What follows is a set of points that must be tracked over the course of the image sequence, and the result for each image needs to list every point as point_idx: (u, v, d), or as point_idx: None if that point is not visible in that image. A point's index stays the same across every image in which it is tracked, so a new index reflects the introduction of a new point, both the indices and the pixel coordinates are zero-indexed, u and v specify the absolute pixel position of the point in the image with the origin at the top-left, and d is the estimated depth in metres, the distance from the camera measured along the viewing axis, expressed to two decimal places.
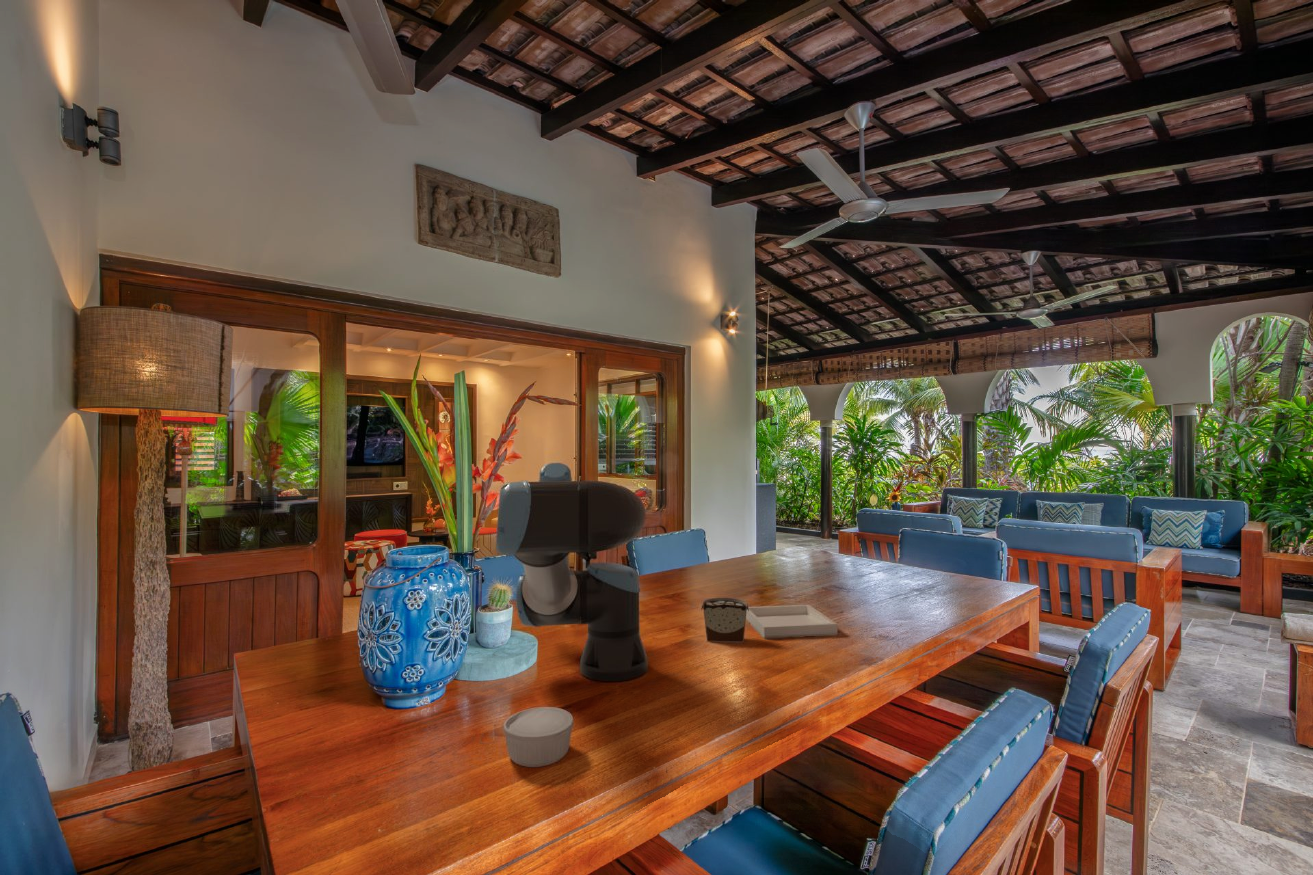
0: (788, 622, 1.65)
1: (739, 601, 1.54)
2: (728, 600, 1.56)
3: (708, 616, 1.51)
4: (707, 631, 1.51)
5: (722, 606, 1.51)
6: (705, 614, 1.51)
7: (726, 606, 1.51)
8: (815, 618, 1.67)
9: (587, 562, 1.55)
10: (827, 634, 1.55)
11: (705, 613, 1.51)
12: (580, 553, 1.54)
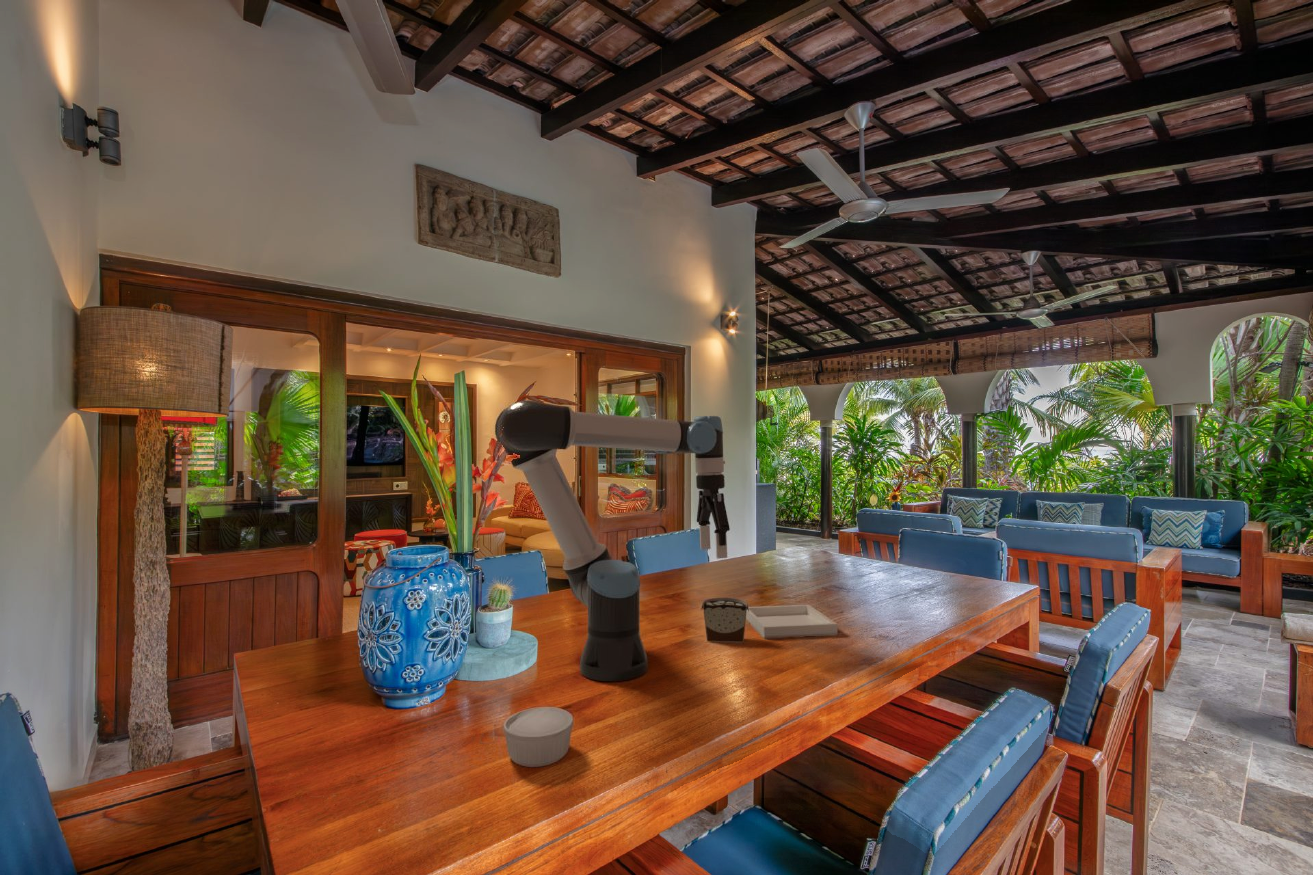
0: (788, 622, 1.65)
1: (739, 601, 1.54)
2: (728, 600, 1.56)
3: (708, 616, 1.51)
4: (707, 631, 1.51)
5: (722, 606, 1.51)
6: (705, 614, 1.51)
7: (726, 606, 1.51)
8: (815, 618, 1.67)
9: (714, 531, 1.49)
10: (827, 634, 1.55)
11: (705, 613, 1.51)
12: (714, 520, 1.50)
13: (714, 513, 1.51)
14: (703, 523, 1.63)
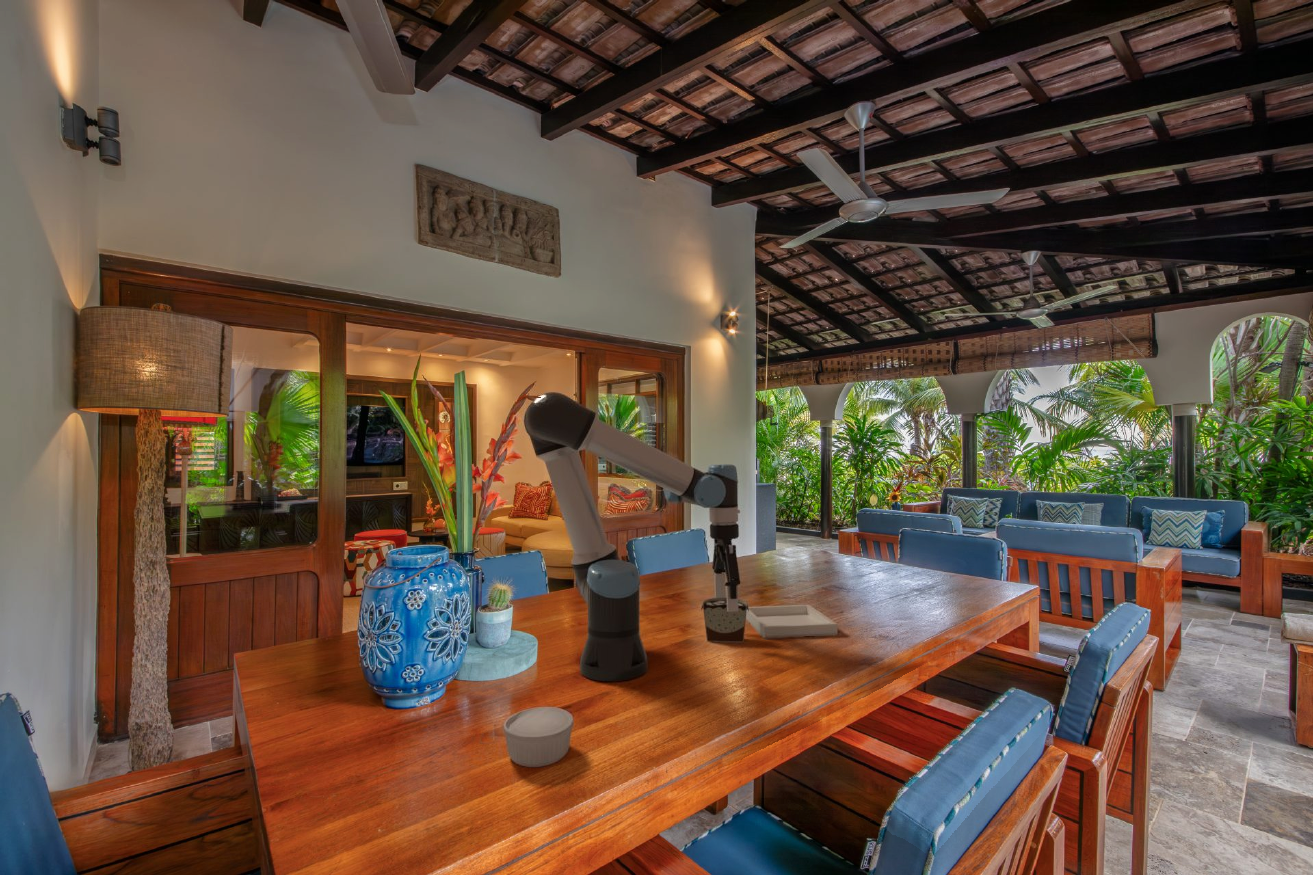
0: (788, 622, 1.65)
1: (739, 601, 1.54)
2: None
3: (708, 616, 1.51)
4: (707, 631, 1.51)
5: (722, 606, 1.51)
6: (705, 614, 1.51)
7: (726, 606, 1.51)
8: (815, 618, 1.67)
9: (725, 584, 1.46)
10: (827, 634, 1.55)
11: (705, 613, 1.51)
12: (726, 572, 1.48)
13: (726, 565, 1.49)
14: (718, 571, 1.61)
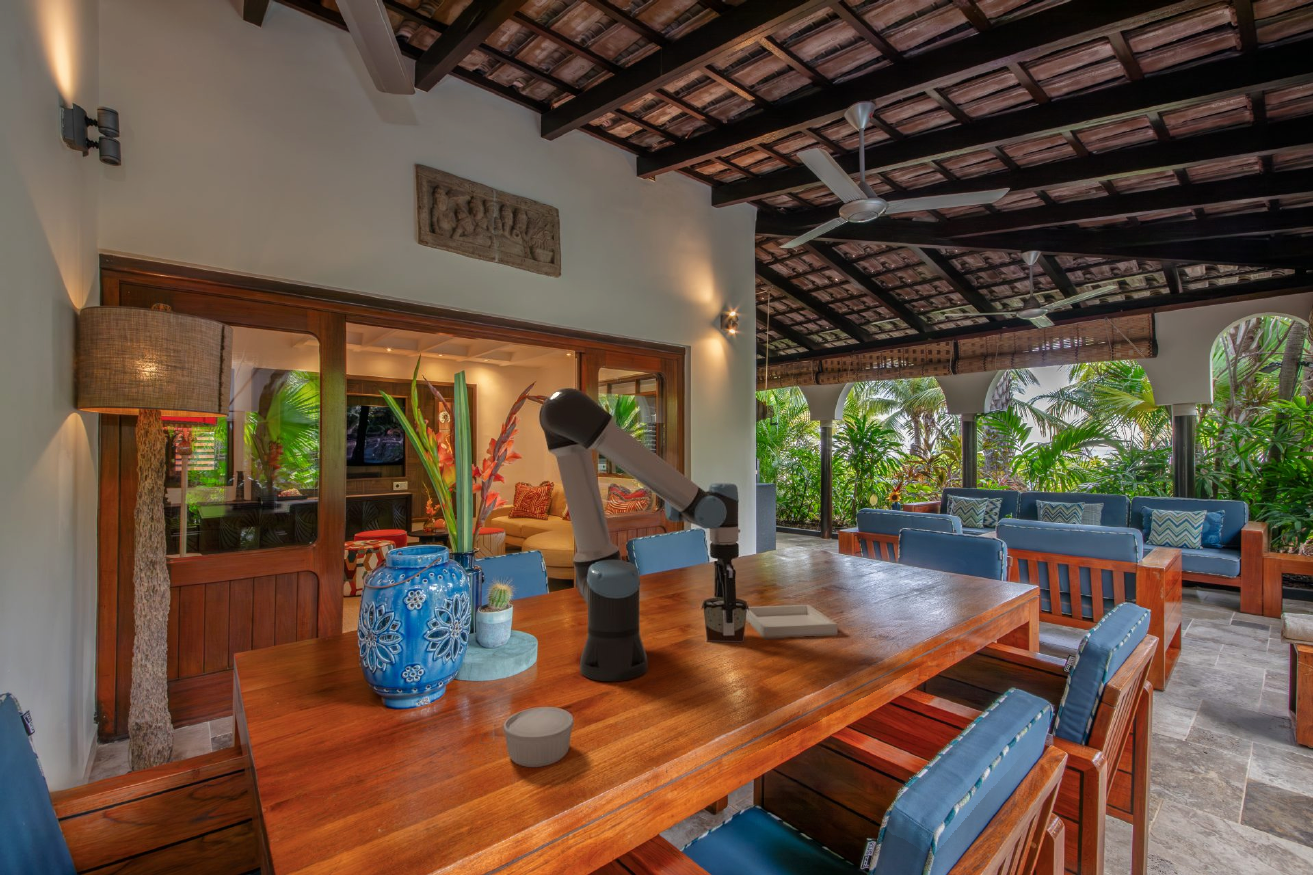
0: (788, 622, 1.65)
1: (739, 601, 1.54)
2: None
3: (708, 616, 1.51)
4: (707, 631, 1.51)
5: (722, 606, 1.51)
6: (705, 613, 1.51)
7: None
8: (815, 618, 1.67)
9: (721, 608, 1.49)
10: (827, 634, 1.55)
11: (705, 612, 1.51)
12: (723, 595, 1.50)
13: (724, 587, 1.50)
14: None
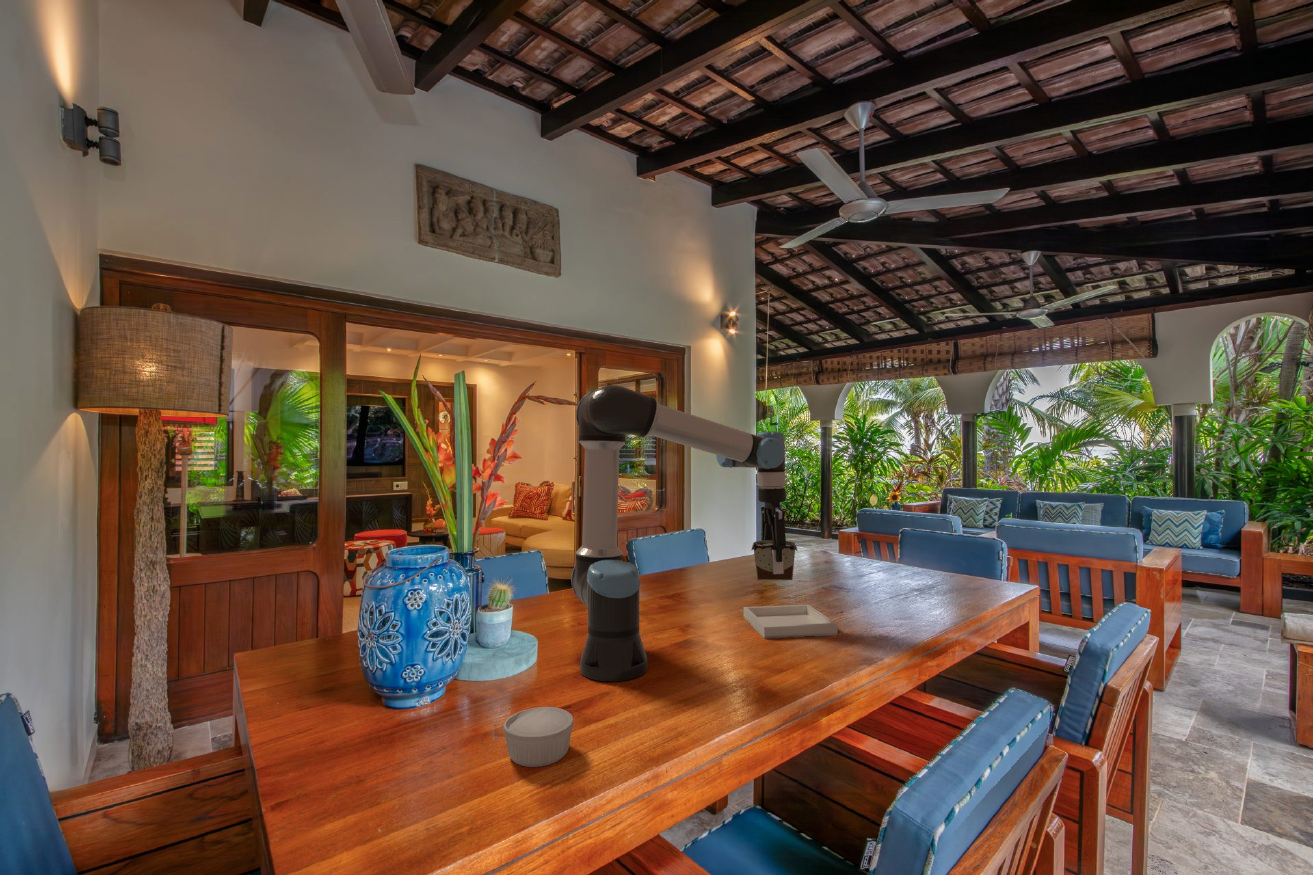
0: (788, 622, 1.65)
1: (787, 543, 1.62)
2: None
3: (758, 556, 1.59)
4: (757, 570, 1.59)
5: (771, 546, 1.59)
6: (755, 554, 1.59)
7: None
8: (815, 618, 1.67)
9: (771, 548, 1.57)
10: (827, 634, 1.55)
11: (755, 553, 1.59)
12: (773, 536, 1.58)
13: (773, 529, 1.58)
14: None
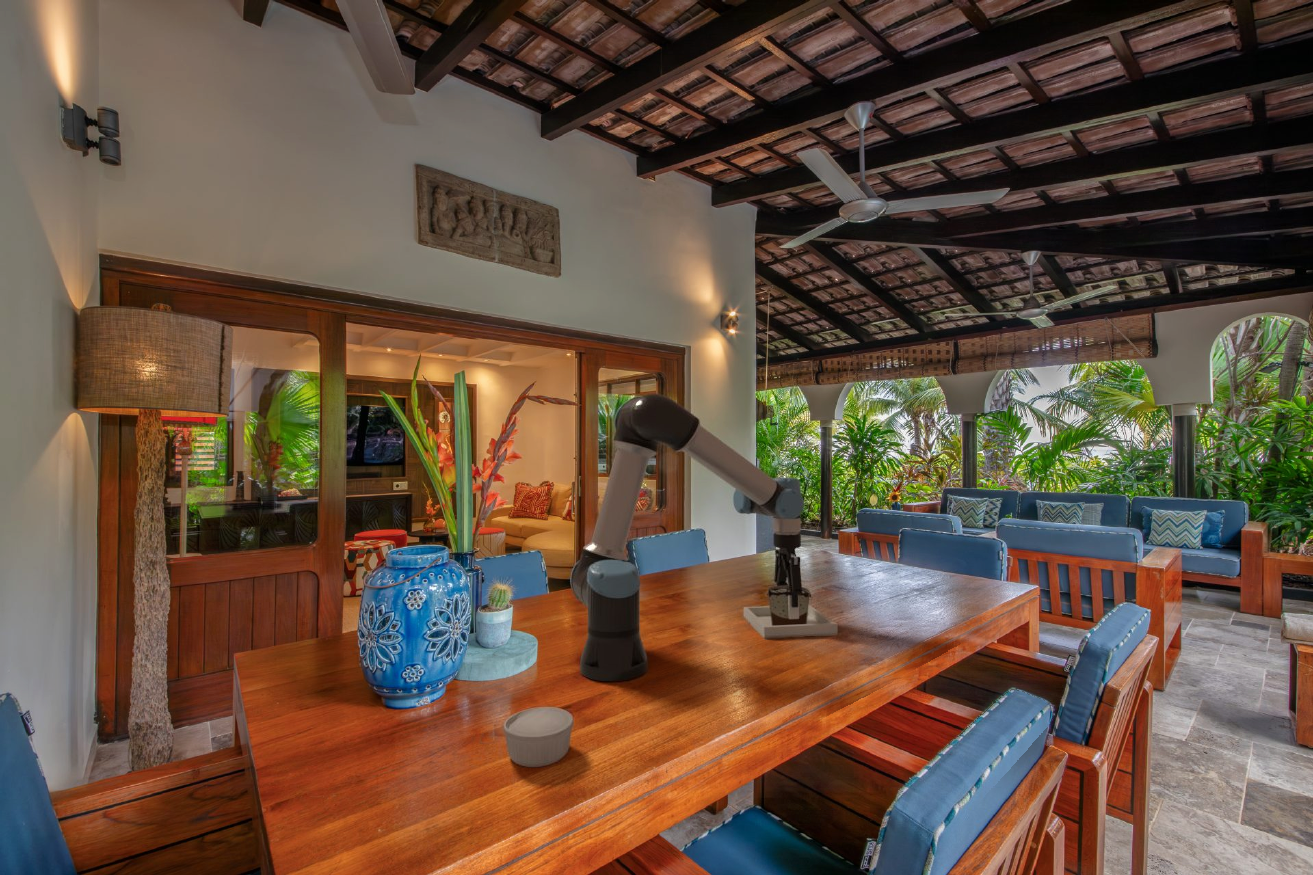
0: None
1: None
2: None
3: (773, 603, 1.62)
4: (772, 617, 1.61)
5: (786, 593, 1.61)
6: (770, 601, 1.62)
7: None
8: (815, 618, 1.67)
9: (787, 593, 1.58)
10: (827, 634, 1.55)
11: (770, 600, 1.62)
12: (788, 581, 1.60)
13: (789, 574, 1.60)
14: (781, 584, 1.69)
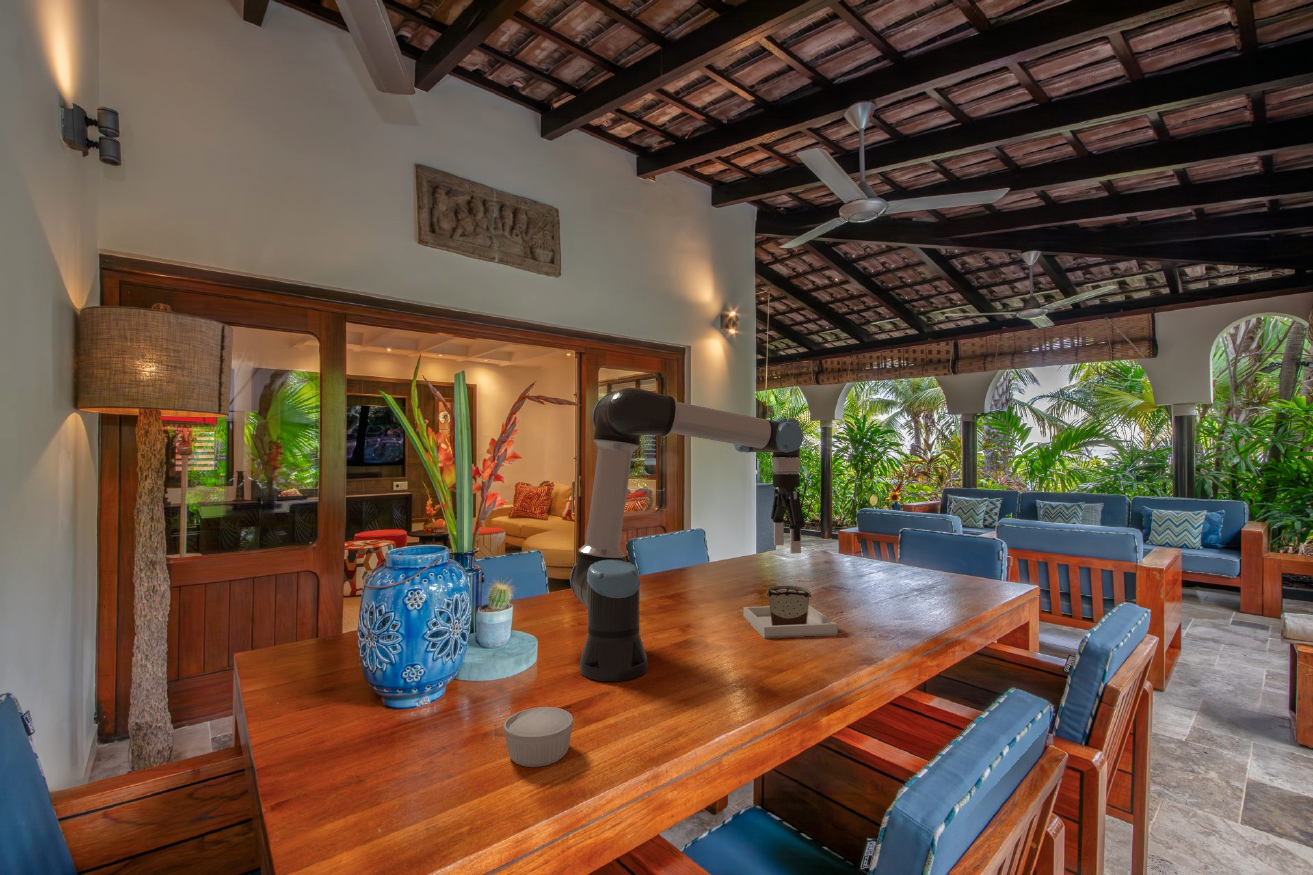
0: None
1: (800, 589, 1.65)
2: (789, 588, 1.66)
3: (773, 603, 1.62)
4: (772, 617, 1.61)
5: (786, 593, 1.61)
6: (770, 601, 1.62)
7: (790, 593, 1.61)
8: (815, 618, 1.67)
9: (789, 527, 1.57)
10: (827, 634, 1.55)
11: (770, 600, 1.62)
12: (789, 516, 1.59)
13: (789, 510, 1.59)
14: (777, 520, 1.72)
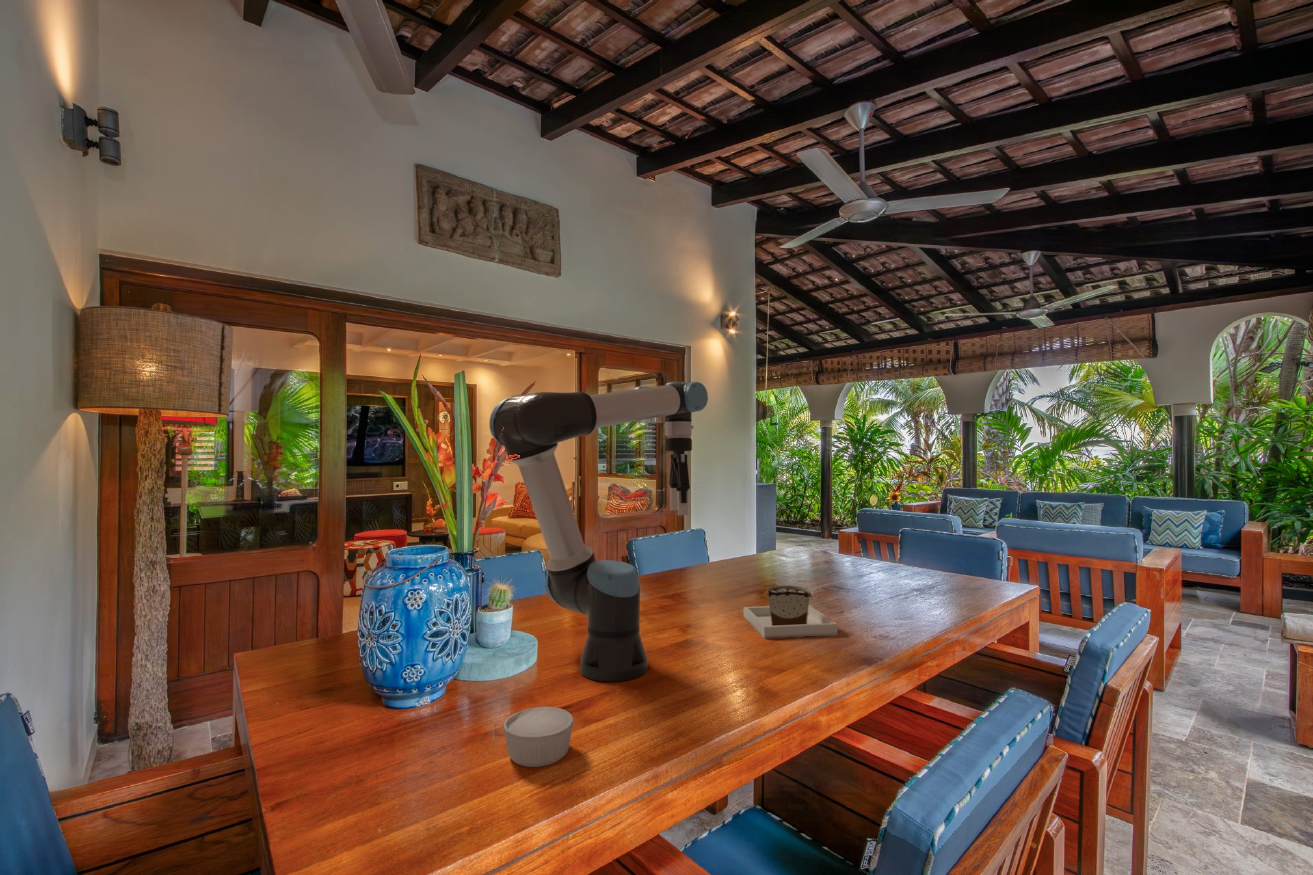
0: None
1: (800, 589, 1.65)
2: (789, 588, 1.66)
3: (773, 603, 1.62)
4: (772, 617, 1.61)
5: (786, 593, 1.61)
6: (770, 601, 1.62)
7: (790, 593, 1.61)
8: (815, 618, 1.67)
9: (676, 489, 1.57)
10: (827, 634, 1.55)
11: (770, 600, 1.62)
12: (677, 479, 1.59)
13: (678, 473, 1.60)
14: (674, 485, 1.72)
